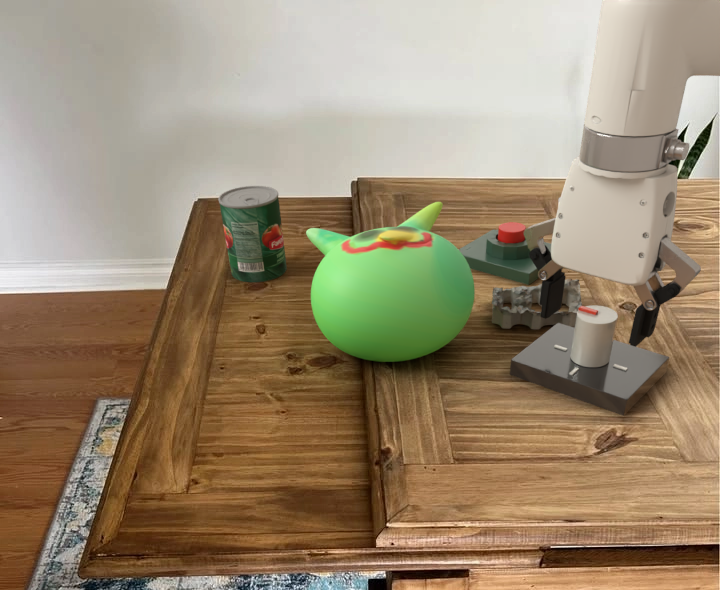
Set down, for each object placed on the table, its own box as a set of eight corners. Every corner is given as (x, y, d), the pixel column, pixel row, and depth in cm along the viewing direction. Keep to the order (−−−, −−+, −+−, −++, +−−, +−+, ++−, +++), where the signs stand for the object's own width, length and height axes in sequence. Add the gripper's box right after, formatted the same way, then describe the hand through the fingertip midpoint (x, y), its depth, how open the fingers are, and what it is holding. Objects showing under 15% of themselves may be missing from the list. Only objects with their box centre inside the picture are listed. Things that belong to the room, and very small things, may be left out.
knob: (616, 355, 77) (625, 309, 73) (598, 371, 75) (607, 325, 71) (581, 344, 79) (588, 299, 75) (563, 359, 77) (570, 313, 73)
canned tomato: (227, 268, 105) (213, 190, 98) (280, 259, 107) (270, 181, 100) (237, 291, 99) (223, 209, 92) (293, 280, 101) (284, 200, 94)
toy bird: (325, 396, 78) (312, 266, 69) (309, 323, 91) (296, 204, 82) (488, 375, 80) (497, 244, 70) (449, 306, 93) (453, 187, 83)
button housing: (566, 262, 101) (569, 234, 98) (528, 289, 95) (531, 260, 93) (491, 243, 107) (493, 216, 104) (452, 267, 101) (453, 239, 99)
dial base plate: (664, 377, 78) (670, 355, 76) (622, 421, 72) (627, 398, 70) (555, 341, 85) (558, 321, 83) (508, 379, 79) (510, 358, 77)
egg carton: (579, 309, 90) (584, 277, 88) (579, 339, 85) (585, 306, 82) (492, 304, 92) (494, 273, 90) (487, 332, 87) (489, 301, 84)
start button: (529, 238, 99) (531, 225, 98) (515, 247, 97) (516, 234, 96) (506, 232, 101) (507, 220, 100) (492, 241, 99) (493, 228, 98)
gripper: (743, 153, 61) (692, 336, 72) (557, 124, 70) (536, 291, 81) (709, 177, 57) (660, 368, 68) (515, 143, 66) (500, 317, 77)
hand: (593, 326), depth 74 cm, fingers open, 9 cm apart
